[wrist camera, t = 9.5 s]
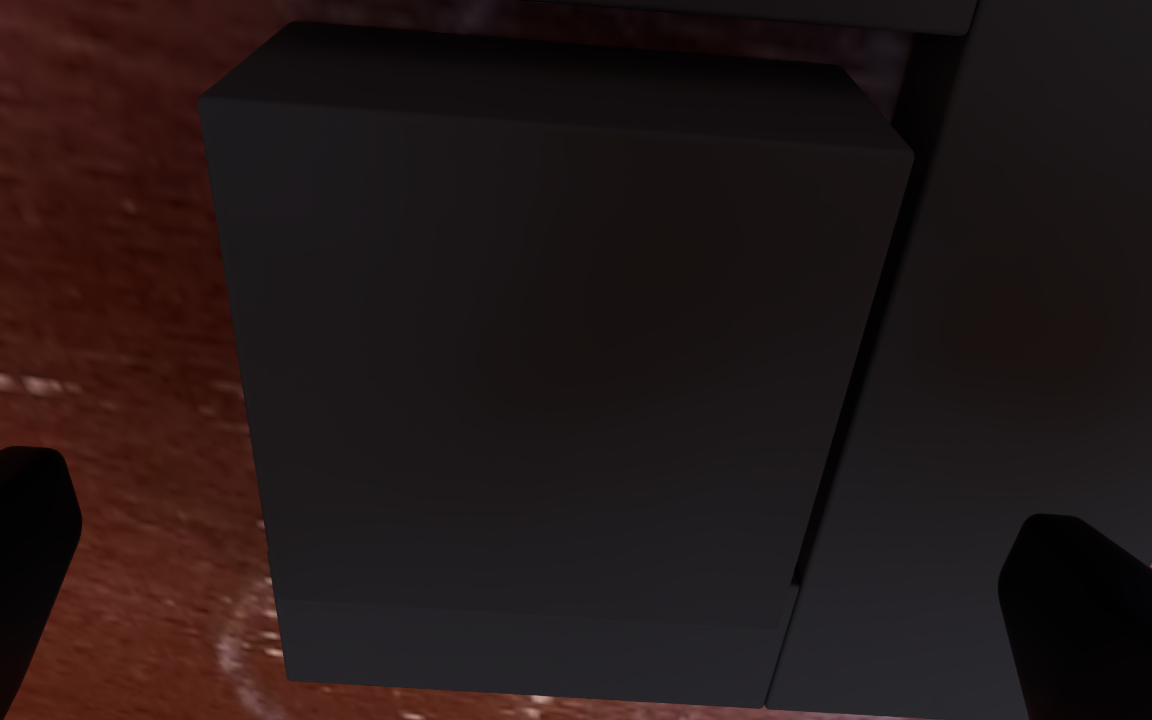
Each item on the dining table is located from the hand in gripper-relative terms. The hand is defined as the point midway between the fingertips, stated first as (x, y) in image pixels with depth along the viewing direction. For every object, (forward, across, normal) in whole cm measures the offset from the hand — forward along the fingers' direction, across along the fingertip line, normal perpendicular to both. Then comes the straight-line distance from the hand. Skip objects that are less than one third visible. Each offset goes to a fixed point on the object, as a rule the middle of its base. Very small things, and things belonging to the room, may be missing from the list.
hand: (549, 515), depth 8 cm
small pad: (+5, 0, 0) cm, 5 cm away
